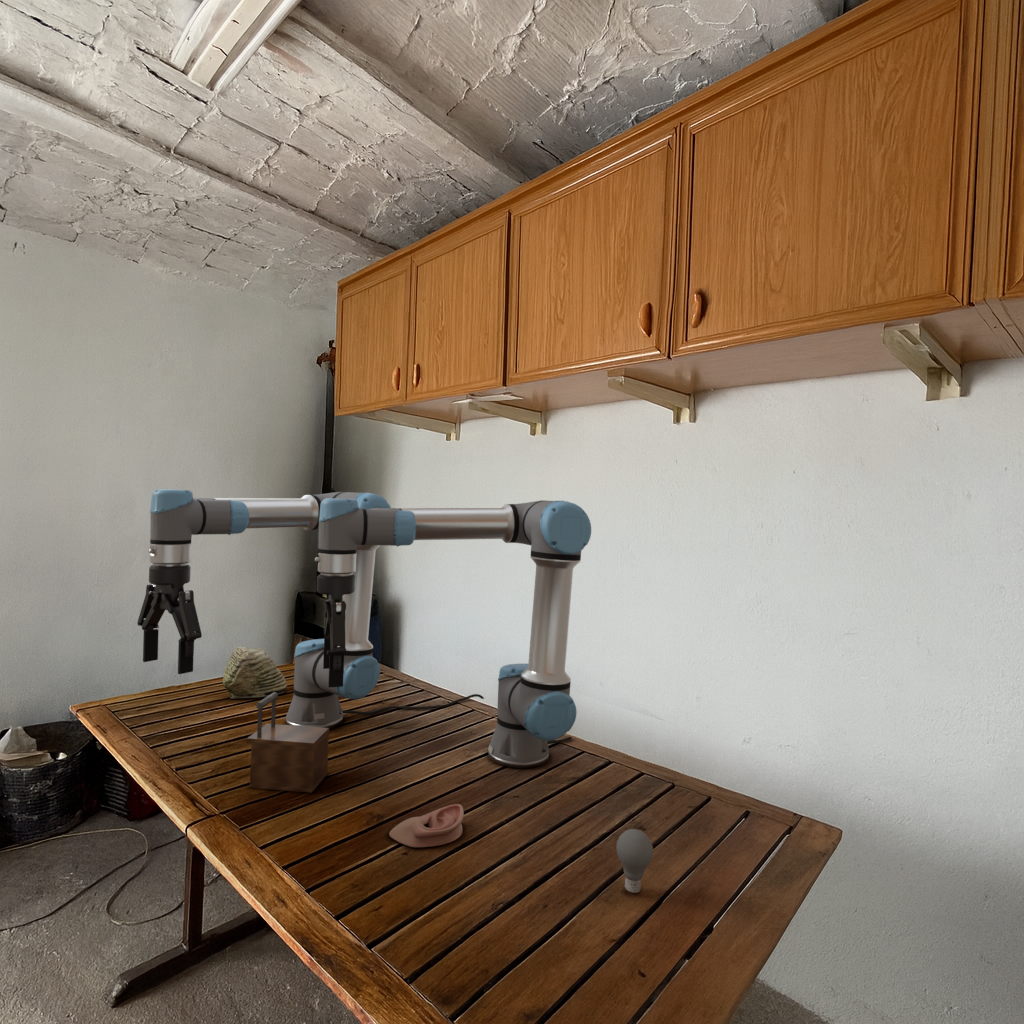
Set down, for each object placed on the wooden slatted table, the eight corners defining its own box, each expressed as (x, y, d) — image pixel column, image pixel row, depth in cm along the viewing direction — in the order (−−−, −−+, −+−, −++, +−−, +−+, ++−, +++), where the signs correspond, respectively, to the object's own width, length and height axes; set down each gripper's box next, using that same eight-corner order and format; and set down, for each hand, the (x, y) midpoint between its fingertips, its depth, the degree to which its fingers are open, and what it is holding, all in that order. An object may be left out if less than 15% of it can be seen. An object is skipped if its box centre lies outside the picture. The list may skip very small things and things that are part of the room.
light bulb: (610, 879, 108) (613, 822, 108) (644, 879, 109) (647, 822, 109) (619, 902, 102) (622, 840, 102) (655, 901, 103) (658, 840, 103)
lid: (246, 742, 136) (248, 703, 136) (266, 727, 145) (267, 690, 145) (313, 747, 135) (314, 707, 135) (328, 731, 144) (330, 694, 144)
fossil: (218, 695, 195) (220, 647, 195) (278, 685, 208) (279, 640, 207) (228, 703, 189) (230, 653, 188) (289, 692, 201) (290, 645, 201)
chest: (249, 788, 136) (251, 743, 136) (269, 770, 145) (270, 727, 145) (311, 792, 135) (313, 747, 135) (327, 774, 144) (328, 732, 144)
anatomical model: (383, 821, 117) (406, 793, 128) (382, 842, 117) (405, 813, 128) (452, 832, 114) (469, 802, 125) (451, 853, 114) (468, 822, 125)
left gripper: (120, 559, 134) (118, 659, 135) (185, 571, 120) (182, 682, 121) (157, 557, 140) (154, 652, 141) (222, 568, 127) (219, 673, 127)
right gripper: (313, 566, 140) (310, 662, 140) (321, 582, 116) (317, 696, 117) (348, 566, 142) (344, 660, 143) (363, 581, 119) (359, 693, 120)
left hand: (167, 666), depth 131 cm, fingers open, 13 cm apart
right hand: (332, 677), depth 130 cm, fingers open, 13 cm apart
